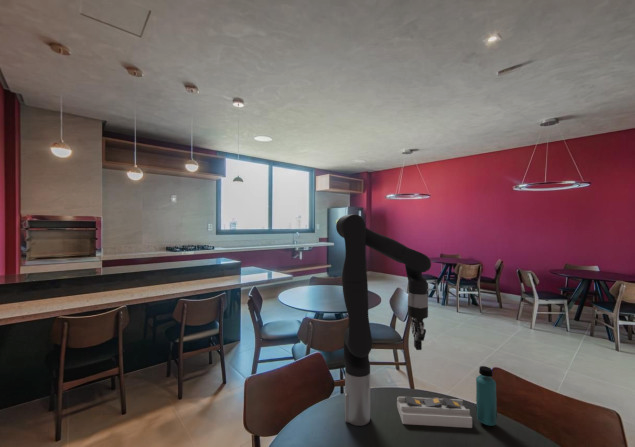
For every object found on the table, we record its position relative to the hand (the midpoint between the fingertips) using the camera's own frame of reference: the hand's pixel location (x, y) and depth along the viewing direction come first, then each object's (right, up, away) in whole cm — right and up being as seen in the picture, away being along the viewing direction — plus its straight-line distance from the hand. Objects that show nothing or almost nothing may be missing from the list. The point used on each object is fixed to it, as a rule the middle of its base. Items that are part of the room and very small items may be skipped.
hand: (417, 348), depth 112 cm
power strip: (+4, -23, -6) cm, 24 cm away
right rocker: (+11, -18, -6) cm, 22 cm away
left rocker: (-3, -18, -5) cm, 19 cm away
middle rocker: (+4, -18, -6) cm, 19 cm away
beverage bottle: (+21, -23, -10) cm, 33 cm away
